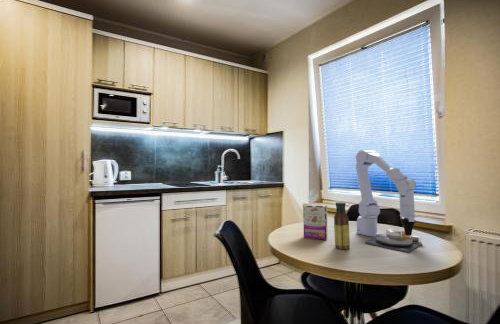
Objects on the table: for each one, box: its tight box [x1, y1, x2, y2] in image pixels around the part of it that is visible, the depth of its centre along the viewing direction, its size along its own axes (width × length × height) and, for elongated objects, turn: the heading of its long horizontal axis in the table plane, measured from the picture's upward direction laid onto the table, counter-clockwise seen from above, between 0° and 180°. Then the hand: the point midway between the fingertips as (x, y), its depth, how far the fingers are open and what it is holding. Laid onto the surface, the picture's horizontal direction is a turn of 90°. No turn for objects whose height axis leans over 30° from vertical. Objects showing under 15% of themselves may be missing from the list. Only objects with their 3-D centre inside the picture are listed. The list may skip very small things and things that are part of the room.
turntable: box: [375, 230, 413, 246], centre depth 123 cm, size 15×15×5 cm
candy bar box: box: [302, 204, 328, 241], centre depth 133 cm, size 11×5×16 cm, turn 68°
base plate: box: [365, 235, 423, 254], centre depth 123 cm, size 18×18×3 cm
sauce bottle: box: [333, 201, 351, 250], centre depth 117 cm, size 6×6×20 cm
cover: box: [385, 228, 402, 239], centre depth 123 cm, size 6×6×3 cm
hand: (408, 235), depth 121 cm, fingers closed, pressing on turntable
